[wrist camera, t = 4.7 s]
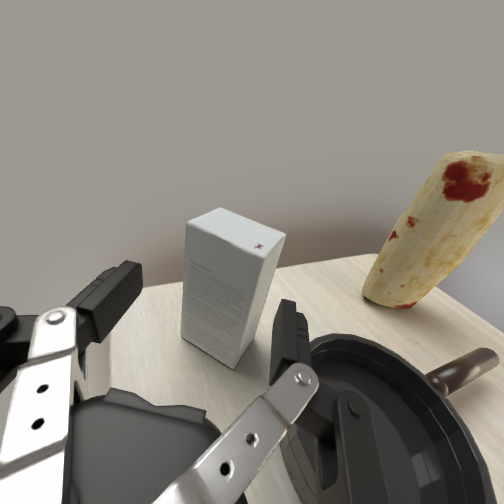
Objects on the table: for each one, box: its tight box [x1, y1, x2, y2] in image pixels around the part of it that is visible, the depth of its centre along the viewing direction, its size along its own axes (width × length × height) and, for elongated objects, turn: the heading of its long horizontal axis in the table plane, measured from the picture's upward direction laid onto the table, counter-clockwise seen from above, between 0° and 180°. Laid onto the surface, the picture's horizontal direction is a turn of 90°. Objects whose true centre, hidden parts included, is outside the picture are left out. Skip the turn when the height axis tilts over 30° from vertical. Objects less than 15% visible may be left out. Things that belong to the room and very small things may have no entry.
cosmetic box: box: [181, 208, 286, 369], centre depth 19 cm, size 6×4×12 cm
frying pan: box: [280, 333, 497, 504], centre depth 17 cm, size 13×13×4 cm
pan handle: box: [425, 348, 500, 397], centre depth 21 cm, size 11×2×2 cm, turn 113°
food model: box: [362, 150, 504, 309], centre depth 28 cm, size 10×7×20 cm
